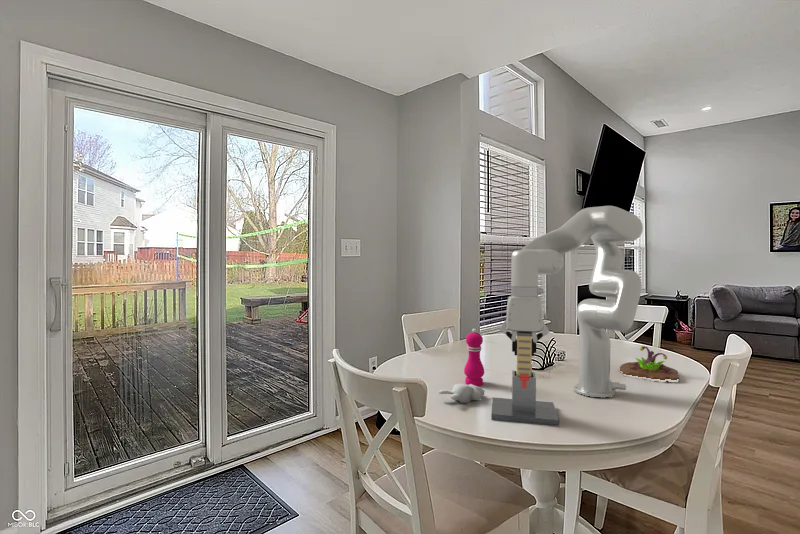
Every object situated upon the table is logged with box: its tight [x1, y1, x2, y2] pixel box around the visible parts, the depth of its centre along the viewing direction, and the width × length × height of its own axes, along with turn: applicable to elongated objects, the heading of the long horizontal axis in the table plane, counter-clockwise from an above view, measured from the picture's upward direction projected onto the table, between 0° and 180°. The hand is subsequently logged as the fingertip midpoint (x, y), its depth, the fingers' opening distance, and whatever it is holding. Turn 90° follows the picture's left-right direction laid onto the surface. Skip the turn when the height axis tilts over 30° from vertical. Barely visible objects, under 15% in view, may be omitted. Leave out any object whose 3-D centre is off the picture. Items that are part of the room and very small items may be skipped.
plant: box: [619, 345, 680, 380], centre depth 163 cm, size 20×20×11 cm
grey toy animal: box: [438, 383, 485, 404], centre depth 135 cm, size 10×5×15 cm
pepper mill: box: [463, 328, 485, 387], centre depth 151 cm, size 7×7×20 cm
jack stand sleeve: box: [490, 370, 560, 427], centre depth 124 cm, size 18×14×12 cm
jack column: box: [515, 331, 533, 377], centre depth 123 cm, size 4×4×17 cm
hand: (524, 354), depth 123 cm, fingers closed on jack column, 4 cm apart
